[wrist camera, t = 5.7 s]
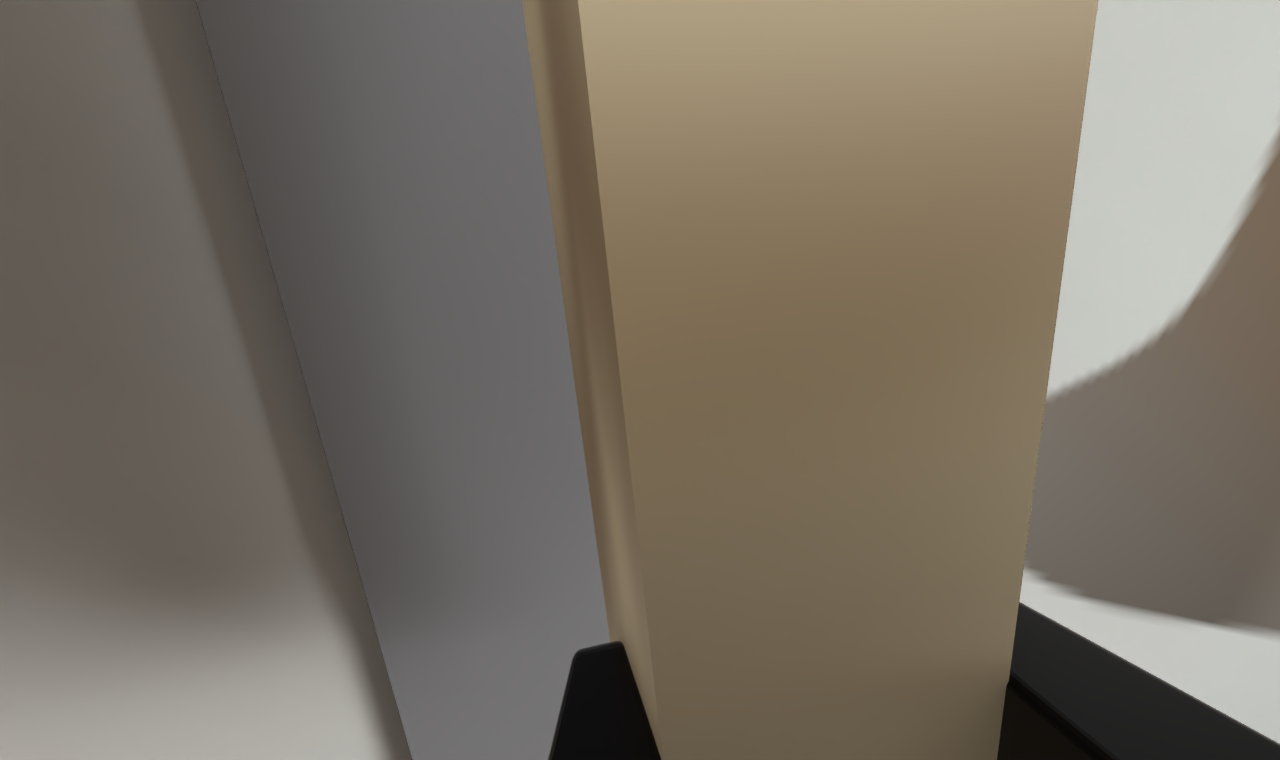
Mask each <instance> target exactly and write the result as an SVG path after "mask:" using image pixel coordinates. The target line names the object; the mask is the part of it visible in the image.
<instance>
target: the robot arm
mask: <svg viewBox="0 0 1280 760" xmlns="http://www.w3.org/2000/svg"><path fill="white" fill-rule="evenodd" d="M548 760H661V757H660V754H659V751H658V748H657V745H656V742H655V739H654V735H653V732H652V729H651V726H650V723H649V720H648V717H647V714H646V711H645V708H644V705H643V702H642V699H641V696H640V693H639V690H638V687H637V684H636V681H635V678H634V675H633V672H632V669H631V666H630V663H629V660H628V657H627V654H626V651H625V648H624V645H623V643H622V642H620V641H614V642H609V643H605V644H600V645H596V646H591V647H587V648H583V649H580V650H578V651H577V652H576V653H575V655H574V656H573V659H572V662H571V666H570V670H569V675H568V679H567V683H566V687H565V691H564V695H563V699H562V703H561V708H560V712H559V716H558V720H557V724H556V728H555V732H554V736H553V740H552V745H551V749H550V753H549V757H548ZM997 760H1280V744H1279V743H1277V742H1275V741H1273V740H1271V739H1270V738H1268V737H1266V736H1264V735H1262V734H1260V733H1259V732H1257V731H1255V730H1253V729H1251V728H1249V727H1248V726H1246V725H1244V724H1242V723H1240V722H1238V721H1237V720H1235V719H1233V718H1231V717H1229V716H1227V715H1226V714H1224V713H1222V712H1220V711H1218V710H1216V709H1215V708H1213V707H1211V706H1209V705H1207V704H1205V703H1204V702H1202V701H1200V700H1198V699H1196V698H1194V697H1193V696H1191V695H1189V694H1187V693H1185V692H1184V691H1182V690H1180V689H1178V688H1176V687H1174V686H1173V685H1171V684H1169V683H1167V682H1165V681H1163V680H1162V679H1160V678H1158V677H1156V676H1154V675H1152V674H1151V673H1149V672H1147V671H1145V670H1143V669H1141V668H1140V667H1138V666H1136V665H1134V664H1132V663H1130V662H1129V661H1127V660H1125V659H1123V658H1121V657H1119V656H1118V655H1116V654H1114V653H1112V652H1110V651H1108V650H1107V649H1105V648H1103V647H1101V646H1099V645H1097V644H1096V643H1094V642H1092V641H1090V640H1088V639H1086V638H1085V637H1083V636H1081V635H1079V634H1077V633H1075V632H1074V631H1072V630H1070V629H1068V628H1066V627H1064V626H1063V625H1061V624H1059V623H1057V622H1055V621H1053V620H1052V619H1050V618H1048V617H1046V616H1044V615H1042V614H1041V613H1039V612H1037V611H1035V610H1033V609H1031V608H1030V607H1028V606H1026V605H1024V604H1022V603H1020V602H1019V607H1018V614H1017V622H1016V630H1015V637H1014V645H1013V652H1012V660H1011V668H1010V675H1009V682H1008V683H1007V686H1006V693H1005V701H1004V708H1003V716H1002V724H1001V731H1000V739H999V747H998V754H997Z"/></svg>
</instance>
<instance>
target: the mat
mask: <svg viewBox="0 0 1280 760" xmlns="http://www.w3.org/2000/svg"><path fill="white" fill-rule="evenodd" d="M196 3H197V7H198V10H199V14H200V17H201V21H202V24H203V28H204V31H205V35H206V38H207V42H208V45H209V49H210V52H211V56H212V59H213V63H214V66H215V70H216V73H217V77H218V80H219V84H220V87H221V91H222V94H223V98H224V101H225V105H226V108H227V112H228V115H229V119H230V122H231V126H232V129H233V133H234V136H235V140H236V143H237V147H238V150H239V154H240V157H241V161H242V164H243V168H244V171H245V175H246V178H247V182H248V185H249V189H250V192H251V196H252V199H253V203H254V206H255V210H256V213H257V217H258V220H259V224H260V227H261V231H262V234H263V238H264V241H265V245H266V248H267V252H268V255H269V259H270V262H271V266H272V269H273V273H274V276H275V280H276V283H277V287H278V291H279V294H280V298H281V301H282V305H283V308H284V312H285V315H286V319H287V322H288V326H289V329H290V333H291V336H292V340H293V343H294V347H295V350H296V354H297V357H298V361H299V364H300V368H301V371H302V375H303V378H304V382H305V385H306V389H307V392H308V396H309V399H310V403H311V406H312V410H313V413H314V417H315V420H316V424H317V427H318V431H319V434H320V438H321V441H322V445H323V448H324V452H325V455H326V459H327V462H328V466H329V469H330V473H331V476H332V480H333V483H334V487H335V490H336V494H337V497H338V501H339V504H340V508H341V511H342V515H343V518H344V522H345V525H346V529H347V532H348V536H349V539H350V543H351V546H352V550H353V553H354V557H355V560H356V564H357V567H358V571H359V574H360V578H361V581H362V585H363V588H364V592H365V595H366V599H367V602H368V606H369V609H370V613H371V616H372V620H373V623H374V627H375V630H376V634H377V637H378V641H379V644H380V648H381V651H382V655H383V658H384V662H385V665H386V669H387V672H388V676H389V679H390V683H391V686H392V690H393V693H394V697H395V700H396V704H397V707H398V711H399V714H400V718H401V721H402V725H403V728H404V732H405V735H406V739H407V742H408V746H409V749H410V753H411V756H412V760H548V757H549V753H550V749H551V745H552V740H553V736H554V732H555V728H556V724H557V720H558V716H559V712H560V708H561V703H562V699H563V695H564V691H565V687H566V683H567V679H568V675H569V670H570V666H571V662H572V659H573V656H574V655H575V653H576V652H577V651H578V650H580V649H583V648H587V647H591V646H596V645H600V644H605V643H609V642H610V637H609V629H608V622H607V615H606V607H605V600H604V593H603V586H602V578H601V571H600V564H599V557H598V549H597V542H596V535H595V528H594V520H593V513H592V506H591V498H590V491H589V484H588V477H587V469H586V462H585V455H584V448H583V440H582V433H581V426H580V419H579V411H578V404H577V397H576V389H575V382H574V375H573V368H572V360H571V353H570V346H569V339H568V331H567V324H566V317H565V310H564V302H563V295H562V288H561V280H560V273H559V266H558V259H557V251H556V244H555V237H554V230H553V222H552V215H551V208H550V200H549V193H548V186H547V179H546V171H545V164H544V157H543V150H542V142H541V135H540V128H539V121H538V113H537V106H536V99H535V91H534V84H533V77H532V70H531V62H530V55H529V48H528V41H527V33H526V26H525V19H524V12H523V4H522V0H196Z"/></svg>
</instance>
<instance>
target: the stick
mask: <svg viewBox="0 0 1280 760" xmlns="http://www.w3.org/2000/svg"><path fill="white" fill-rule="evenodd" d="M522 4H523V12H524V19H525V26H526V33H527V41H528V48H529V55H530V62H531V70H532V77H533V84H534V91H535V99H536V106H537V113H538V121H539V128H540V135H541V142H542V150H543V157H544V164H545V171H546V179H547V186H548V193H549V200H550V208H551V215H552V222H553V230H554V237H555V244H556V251H557V259H558V266H559V273H560V280H561V288H562V295H563V302H564V310H565V317H566V324H567V331H568V339H569V346H570V353H571V360H572V368H573V375H574V382H575V389H576V397H577V404H578V411H579V419H580V426H581V433H582V440H583V448H584V455H585V462H586V469H587V477H588V484H589V491H590V498H591V506H592V513H593V520H594V528H595V535H596V542H597V549H598V557H599V564H600V571H601V578H602V586H603V593H604V600H605V607H606V615H607V622H608V629H609V637H610V642H614V641H620V642H622V643H623V645H624V648H625V651H626V654H627V657H628V660H629V663H630V666H631V669H632V672H633V675H634V678H635V681H636V684H637V687H638V690H639V693H640V696H641V699H642V702H643V705H644V708H645V711H646V714H647V717H648V720H649V723H650V726H651V729H652V732H653V735H654V739H655V742H656V745H657V748H658V751H659V754H660V757H661V760H997V754H998V747H999V739H1000V731H1001V724H1002V716H1003V708H1004V701H1005V693H1006V686H1007V683H1008V682H1009V675H1010V668H1011V660H1012V652H1013V645H1014V637H1015V630H1016V622H1017V614H1018V607H1019V599H1020V592H1021V584H1022V576H1023V569H1024V561H1025V553H1026V546H1027V538H1028V531H1029V523H1030V516H1031V508H1032V499H1033V493H1034V485H1035V478H1036V470H1037V462H1038V455H1039V447H1040V440H1041V432H1042V424H1043V417H1044V409H1045V402H1046V394H1047V386H1048V379H1049V371H1050V364H1051V356H1052V348H1053V341H1054V333H1055V326H1056V318H1057V310H1058V303H1059V295H1060V287H1061V280H1062V272H1063V265H1064V257H1065V249H1066V242H1067V234H1068V227H1069V219H1070V211H1071V204H1072V196H1073V189H1074V181H1075V173H1076V166H1077V158H1078V151H1079V143H1080V135H1081V128H1082V120H1083V113H1084V105H1085V97H1086V90H1087V82H1088V75H1089V67H1090V59H1091V52H1092V44H1093V37H1094V29H1095V21H1096V14H1097V6H1098V0H522Z"/></svg>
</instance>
